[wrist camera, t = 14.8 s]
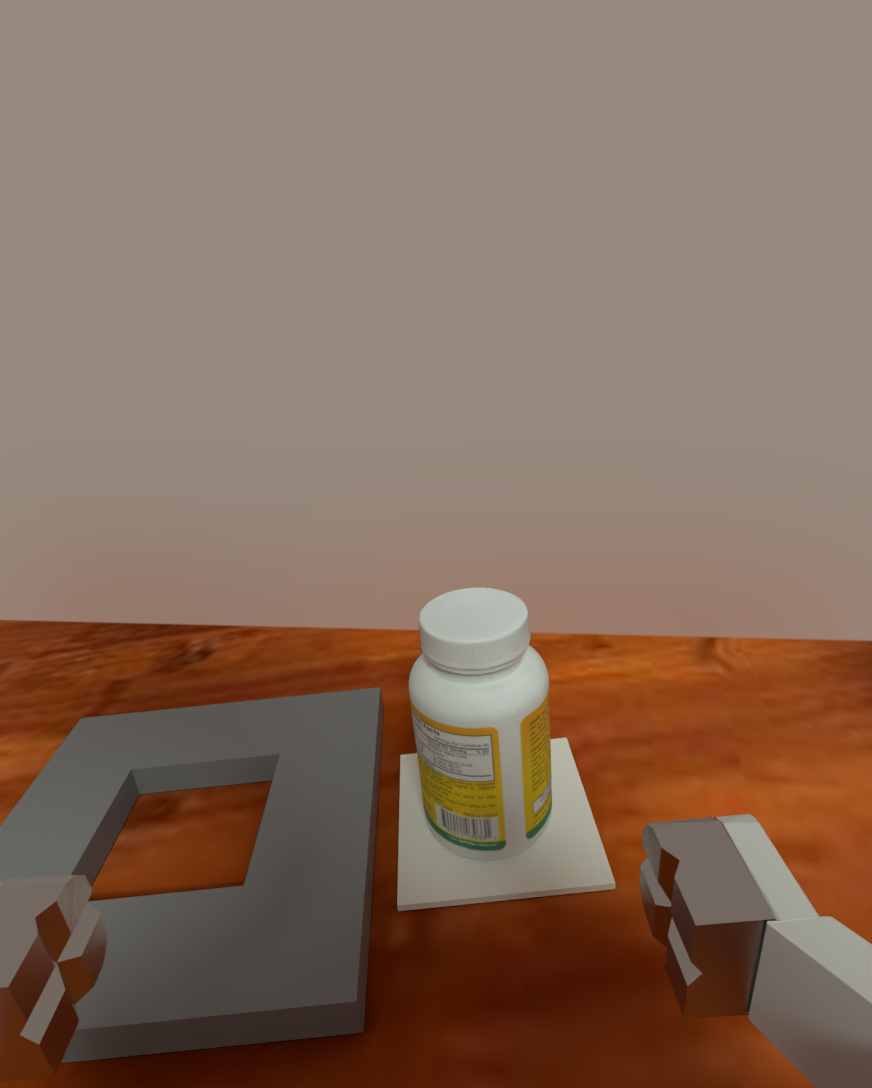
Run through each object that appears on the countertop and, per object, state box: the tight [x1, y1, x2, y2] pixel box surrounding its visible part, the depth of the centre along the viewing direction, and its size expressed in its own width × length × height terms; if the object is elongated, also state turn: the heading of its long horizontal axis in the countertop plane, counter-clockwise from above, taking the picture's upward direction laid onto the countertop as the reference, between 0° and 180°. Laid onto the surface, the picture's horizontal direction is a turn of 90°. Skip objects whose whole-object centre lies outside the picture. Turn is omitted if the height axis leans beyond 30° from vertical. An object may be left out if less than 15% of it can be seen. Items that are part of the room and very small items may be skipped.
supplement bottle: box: [409, 588, 552, 861], centre depth 25 cm, size 5×5×10 cm
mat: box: [397, 738, 616, 911], centre depth 27 cm, size 8×8×1 cm
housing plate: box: [0, 687, 384, 1063], centre depth 27 cm, size 16×16×2 cm
